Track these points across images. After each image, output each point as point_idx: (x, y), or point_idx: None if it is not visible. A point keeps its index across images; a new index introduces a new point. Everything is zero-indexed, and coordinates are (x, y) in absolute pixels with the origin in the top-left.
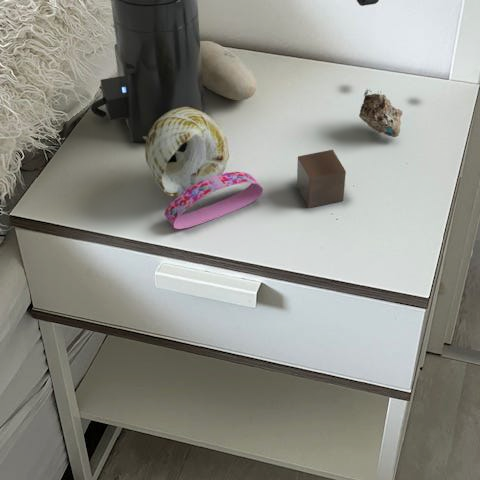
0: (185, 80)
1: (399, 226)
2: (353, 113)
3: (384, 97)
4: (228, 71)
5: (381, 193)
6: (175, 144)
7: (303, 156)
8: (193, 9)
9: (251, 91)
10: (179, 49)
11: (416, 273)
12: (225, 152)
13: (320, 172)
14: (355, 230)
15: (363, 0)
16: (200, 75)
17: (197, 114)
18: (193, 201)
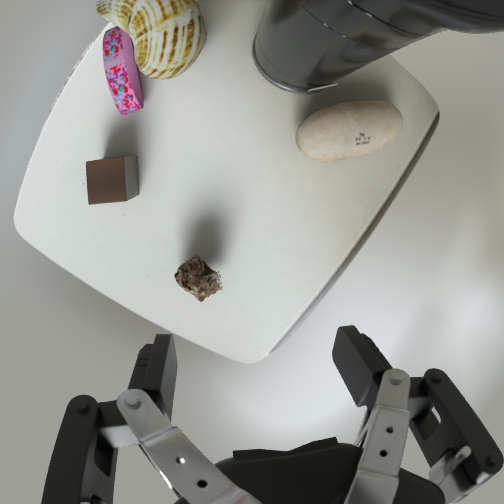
0: (271, 35)
1: (68, 237)
2: (245, 255)
3: (193, 291)
4: (326, 122)
5: (108, 237)
6: (99, 2)
7: (122, 163)
8: (323, 11)
9: (298, 146)
10: (280, 7)
11: (26, 231)
12: (143, 70)
13: (92, 176)
14: (68, 197)
15: (150, 345)
16: (294, 65)
17: (149, 22)
18: (104, 41)
